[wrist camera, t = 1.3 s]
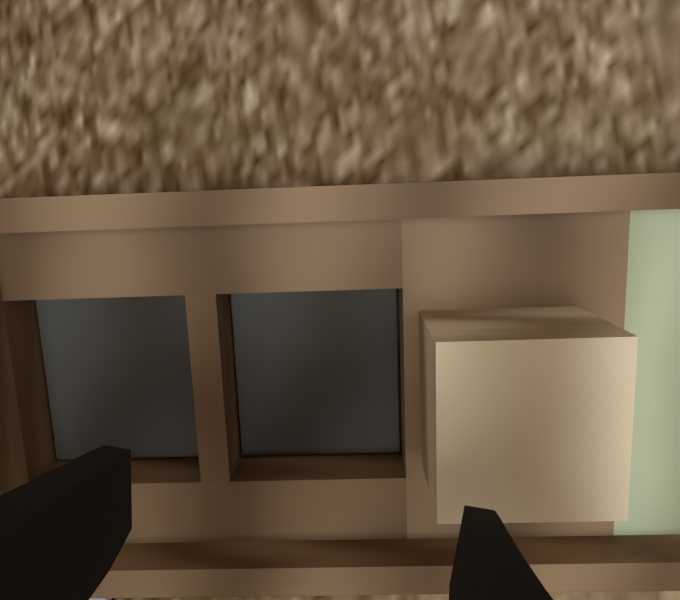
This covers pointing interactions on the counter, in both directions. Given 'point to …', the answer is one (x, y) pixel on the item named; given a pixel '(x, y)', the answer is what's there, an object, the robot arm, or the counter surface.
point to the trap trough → (321, 370)
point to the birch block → (526, 413)
